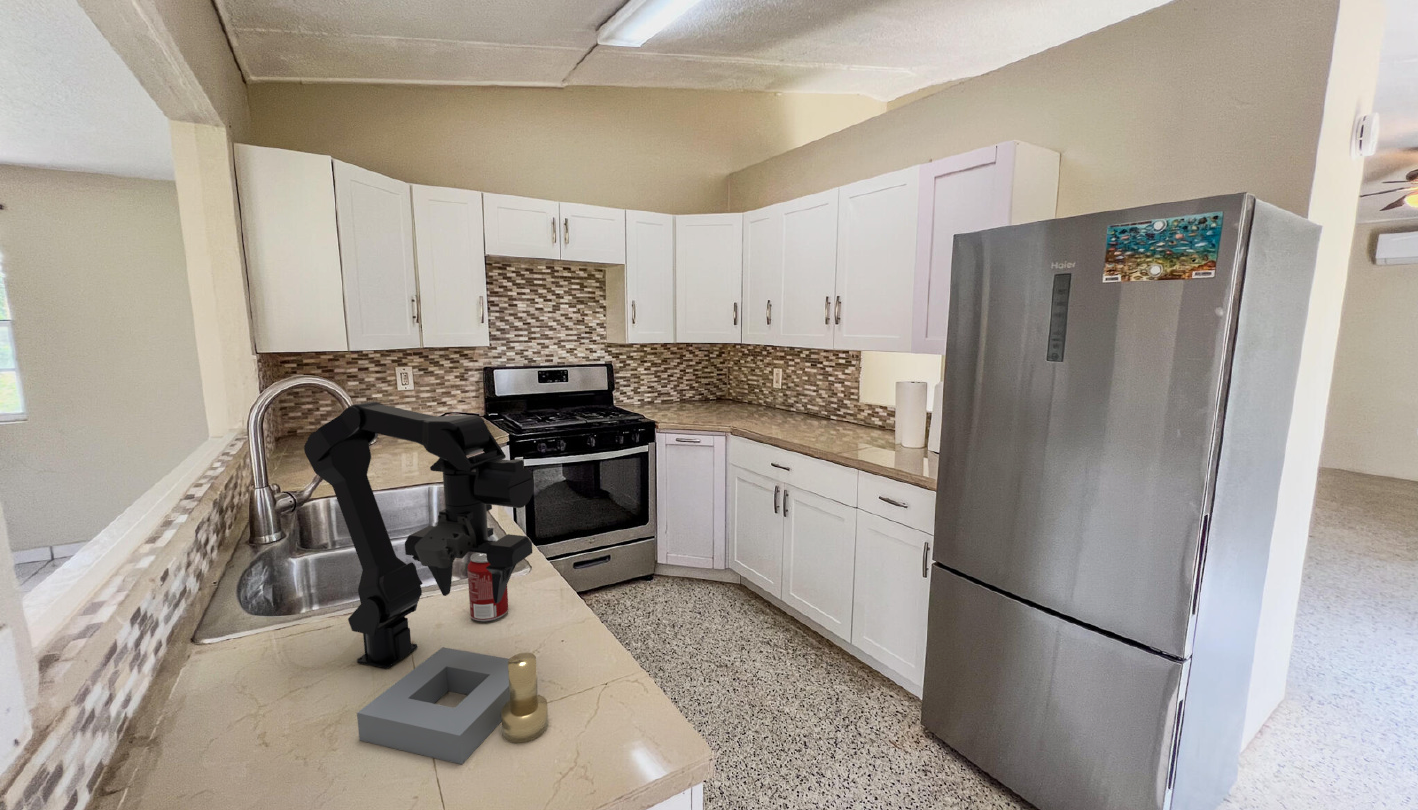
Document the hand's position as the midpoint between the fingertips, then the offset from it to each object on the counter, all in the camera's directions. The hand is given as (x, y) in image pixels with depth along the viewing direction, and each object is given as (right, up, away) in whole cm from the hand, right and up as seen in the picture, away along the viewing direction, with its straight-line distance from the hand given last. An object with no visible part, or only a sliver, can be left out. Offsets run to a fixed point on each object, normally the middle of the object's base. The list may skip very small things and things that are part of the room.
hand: (471, 598), depth 88 cm
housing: (0, -14, -6) cm, 15 cm away
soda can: (-5, -10, +21) cm, 24 cm away
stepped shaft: (+11, -15, -9) cm, 21 cm away
